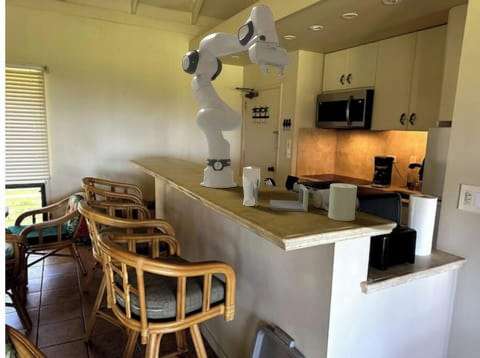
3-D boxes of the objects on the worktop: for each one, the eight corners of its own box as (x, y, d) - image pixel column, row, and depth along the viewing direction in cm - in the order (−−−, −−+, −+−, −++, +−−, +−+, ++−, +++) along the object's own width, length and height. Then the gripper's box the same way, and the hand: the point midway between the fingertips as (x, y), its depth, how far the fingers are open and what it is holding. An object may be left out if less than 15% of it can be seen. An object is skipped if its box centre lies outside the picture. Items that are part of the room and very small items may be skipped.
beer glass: (244, 202, 143) (245, 166, 141) (261, 204, 141) (262, 167, 139) (239, 205, 136) (240, 167, 134) (256, 207, 134) (258, 169, 132)
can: (332, 220, 118) (335, 186, 117) (324, 214, 128) (326, 181, 126) (359, 221, 119) (362, 186, 117) (348, 214, 128) (351, 182, 126)
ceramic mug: (310, 206, 139) (311, 187, 138) (327, 205, 142) (329, 186, 141) (325, 213, 130) (327, 193, 128) (343, 211, 132) (345, 192, 131)
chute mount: (269, 202, 144) (270, 183, 143) (301, 203, 144) (302, 184, 143) (272, 210, 131) (272, 189, 129) (307, 211, 130) (308, 190, 129)
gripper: (280, 50, 153) (286, 80, 152) (244, 43, 140) (250, 75, 139) (290, 43, 148) (296, 74, 147) (254, 35, 136) (260, 68, 134)
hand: (273, 75), depth 143 cm, fingers open, 8 cm apart
